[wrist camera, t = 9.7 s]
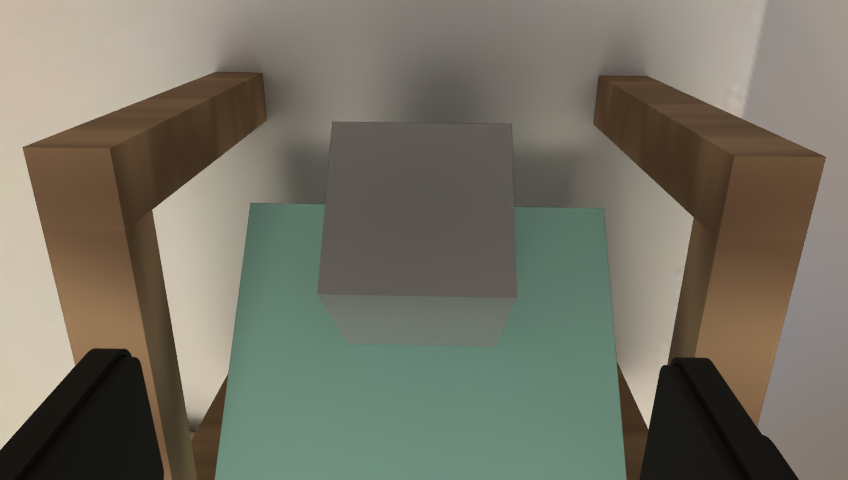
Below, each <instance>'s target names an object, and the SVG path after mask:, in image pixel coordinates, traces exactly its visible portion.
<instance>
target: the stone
mask: <svg viewBox="0 0 848 480" xmlns="http://www.w3.org/2000/svg"><path fill="white" fill-rule="evenodd" d="M317 295H318V297H319V298H320V300H321V301H322V303H323V305H324V306H325V308H326V309H327V311H328V313H329V314H330V316H331V317H332V319H333V320H334V322H335V324H336V325H337V327H338V328H339V330H340V332H341V333H342V335H343V336H344V338H345V340H346V341H347V343H348V344H394V345H444V346H496V344H497V342H498V340H499V337H500V335H501V333H502V331H503V329H504V326H505V324H506V322H507V320H508V317H509V315H510V313H511V311H512V308H513V306H514V304H515V302H516V300H517V275H516V243H515V211H514V179H513V148H512V124H482V123H395V122H332V130H331V141H330V153H329V164H328V176H327V187H326V198H325V210H324V221H323V233H322V244H321V256H320V267H319V278H318V290H317Z"/></svg>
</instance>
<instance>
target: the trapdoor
mask: <svg viewBox="0 0 848 480" xmlns="http://www.w3.org/2000/svg"><path fill="white" fill-rule="evenodd" d="M324 210H325V204H272V203H250V211H249V219H248V227H247V234H246V242H245V250H244V257H243V265H242V273H241V281H240V288H239V296H238V304H237V311H236V319H235V327H234V335H233V342H232V350H231V358H230V365H229V373H228V381H227V389H226V396H225V404H224V412H223V419H222V427H221V435H220V443H219V450H218V458H217V466H216V473H215V480H627V479H626V468H625V456H624V444H623V432H622V420H621V408H620V396H619V384H618V373H617V361H616V349H615V337H614V325H613V313H612V301H611V290H610V278H609V266H608V254H607V242H606V230H605V218H604V208H555V207H514V211H515V243H516V275H517V300H516V302H515V304H514V306H513V308H512V311H511V313H510V315H509V317H508V320H507V322H506V324H505V326H504V329H503V331H502V333H501V335H500V337H499V340H498V342H497V344H496V346H444V345H394V344H348V343H347V341H346V340H345V338H344V336H343V335H342V333H341V332H340V330H339V328H338V327H337V325H336V324H335V322H334V320H333V319H332V317H331V316H330V314H329V313H328V311H327V309H326V308H325V306H324V305H323V303H322V301H321V300H320V298H319V297H318V295H317V290H318V278H319V267H320V256H321V244H322V233H323V221H324Z"/></svg>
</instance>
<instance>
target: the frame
mask: <svg viewBox="0 0 848 480" xmlns="http://www.w3.org/2000/svg"><path fill="white" fill-rule="evenodd" d="M265 121H266V109H265V98H264V87H263V76H262V73H241V72H214V73H212V74H209V75H207V76H204V77H201V78H199V79H196V80H194V81H191V82H189V83H186V84H183V85H181V86H178V87H176V88H173V89H171V90H168V91H166V92H163V93H160V94H158V95H155V96H153V97H150V98H148V99H145V100H143V101H140V102H137V103H135V104H132V105H130V106H127V107H125V108H122V109H119V110H117V111H114V112H112V113H109V114H107V115H104V116H102V117H99V118H96V119H94V120H91V121H89V122H86V123H84V124H81V125H79V126H76V127H73V128H71V129H68V130H66V131H63V132H61V133H58V134H55V135H53V136H50V137H48V138H45V139H43V140H40V141H38V142H35V143H32V144H30V145H27V146H25V147H23V151H24V155H25V159H26V163H27V167H28V172H29V176H30V180H31V184H32V188H33V192H34V196H35V201H36V205H37V209H38V213H39V217H40V221H41V225H42V229H43V234H44V238H45V242H46V246H47V250H48V254H49V258H50V263H51V267H52V271H53V275H54V279H55V283H56V287H57V291H58V296H59V300H60V304H61V308H62V312H63V316H64V320H65V325H66V329H67V333H68V337H69V341H70V345H71V349H72V353H73V358H74V362H75V366H76V365H77V364H78V362H79V361H80V360H81V359H82V358H83V357H84V356H85V355H86V354H87V352H89V351H90V350H91V349H94V348H113V349H127V350H128V351H129V352H130V353H131V356H132V357H137V358H138V359H139V360H140V363H141V366H142V371H143V375H144V380H145V385H146V389H147V394H148V399H149V403H150V408H151V412H152V417H153V422H154V426H155V431H156V436H157V440H158V445H159V449H160V454H161V459H162V463H163V468H164V480H215V473H216V466H217V458H218V450H219V443H220V435H221V427H222V419H223V412H224V404H225V396H226V389H227V381H228V375H227V377H226V379H225V380H224V382H223V384H222V386H221V388H220V389H219V391H218V393H217V395H216V397H215V399H214V400H213V402H212V404H211V406H210V408H209V409H208V411H207V413H206V415H205V417H204V419H203V420H202V422H201V424H200V426H199V428H198V430H197V431H196V433H195V435H194V437H193V439H192V440H191V438H190V432H189V426H188V420H187V414H186V408H185V402H184V396H183V390H182V384H181V379H180V373H179V367H178V361H177V355H176V349H175V343H174V337H173V331H172V325H171V319H170V313H169V307H168V301H167V295H166V290H165V284H164V278H163V272H162V266H161V260H160V254H159V248H158V242H157V236H156V230H155V224H154V218H153V212H152V209H153V208H155V207H156V206H157V205H159V204H160V203H161V202H162V201H164V200H165V199H166V198H168V197H169V196H170V195H171V194H173V193H174V192H175V191H177V190H178V189H179V188H180V187H182V186H183V185H184V184H185V183H187V182H188V181H189V180H191V179H192V178H193V177H194V176H196V175H197V174H198V173H200V172H201V171H202V170H203V169H205V168H206V167H207V166H209V165H210V164H211V163H212V162H214V161H215V160H216V159H218V158H219V157H220V156H221V155H223V154H224V153H225V152H227V151H228V150H229V149H230V148H232V147H233V146H234V145H236V144H237V143H238V142H239V141H241V140H242V139H243V138H245V137H246V136H247V135H248V134H250V133H251V132H252V131H254V130H255V129H256V128H257V127H259V126H260V125H261V124H263V123H264V122H265ZM594 125H595V126H596V127H597V128H598V129H599V130H601V131H602V132H603V133H604V134H605V135H606V136H607V137H608V138H609V139H610V140H611V141H612V142H613V143H615V144H616V145H617V146H618V147H619V148H620V149H621V150H622V151H623V152H624V153H625V154H626V155H627V156H629V157H630V158H631V159H632V160H633V161H634V162H635V163H636V164H637V165H638V166H639V167H640V168H641V169H642V170H644V171H645V172H646V173H647V174H648V175H649V176H650V177H651V178H652V179H653V180H654V181H655V182H656V183H658V184H659V185H660V186H661V187H662V188H663V189H664V190H665V191H666V192H667V193H668V194H669V195H670V196H672V197H673V198H674V199H675V200H676V201H677V202H678V203H679V204H680V205H681V206H682V207H683V208H684V209H685V210H687V211H688V212H689V213H690V214H691V215H692V216H693V217H694V220H693V226H692V231H691V237H690V242H689V248H688V253H687V259H686V265H685V270H684V276H683V281H682V287H681V292H680V298H679V303H678V309H677V315H676V320H675V326H674V331H673V337H672V342H671V348H670V353H669V359H668V365H670V363H671V361H672V359H673V358H675V357H698V358H709V359H710V360H711V361H712V362H713V364H714V365H715V367H716V368H717V370H718V371H719V373H720V374H721V375H722V377H723V378H724V380H725V381H726V383H727V384H728V386H729V387H730V389H731V390H732V392H733V393H734V394H735V396H736V397H737V399H738V400H739V402H740V403H741V405H742V406H743V408H744V409H745V411H746V412H747V414H748V415H749V416H750V418H751V419H752V421H753V422H754V424H755V425H756V427H757V426H758V422H759V418H760V414H761V410H762V406H763V402H764V398H765V394H766V391H767V387H768V382H769V379H770V374H771V371H772V367H773V363H774V359H775V355H776V351H777V347H778V343H779V339H780V336H781V332H782V328H783V324H784V320H785V316H786V312H787V308H788V304H789V300H790V296H791V292H792V289H793V284H794V281H795V277H796V273H797V269H798V265H799V261H800V257H801V253H802V249H803V245H804V241H805V238H806V234H807V230H808V226H809V222H810V218H811V214H812V210H813V206H814V202H815V198H816V194H817V191H818V187H819V182H820V179H821V174H822V171H823V167H824V163H825V159H826V157H825V156H823V155H820V154H818V153H816V152H814V151H811V150H809V149H807V148H805V147H803V146H800V145H798V144H796V143H794V142H792V141H789V140H787V139H785V138H783V137H780V136H778V135H776V134H774V133H772V132H770V131H767V130H765V129H763V128H761V127H758V126H756V125H754V124H752V123H750V122H747V121H745V120H743V119H741V118H739V117H736V116H734V115H732V114H730V113H728V112H725V111H723V110H721V109H719V108H717V107H714V106H712V105H710V104H708V103H705V102H703V101H701V100H699V99H697V98H694V97H692V96H690V95H688V94H686V93H683V92H681V91H679V90H677V89H675V88H672V87H670V86H668V85H666V84H664V83H661V82H659V81H657V80H655V79H652V78H650V77H648V76H599V78H598V88H597V97H596V106H595V115H594ZM617 373H618V384H619V396H620V408H621V420H622V432H623V444H624V456H625V468H626V479H627V480H639V478H640V473H641V467H642V462H643V457H644V452H645V447H646V441H647V436H648V431H649V430H648V428H647V426H646V424H645V421H644V419H643V417H642V415H641V413H640V411H639V408H638V406H637V404H636V402H635V400H634V398H633V395H632V393H631V391H630V389H629V387H628V385H627V382H626V380H625V378H624V376H623V374H622V372H621V369H620V367H619V365H618V363H617Z"/></svg>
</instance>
